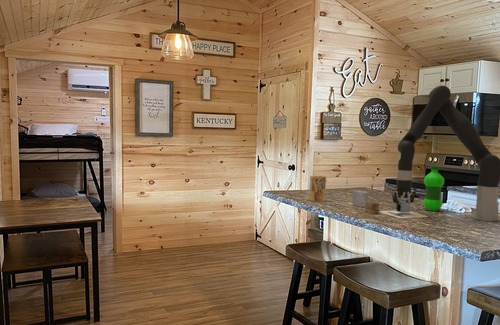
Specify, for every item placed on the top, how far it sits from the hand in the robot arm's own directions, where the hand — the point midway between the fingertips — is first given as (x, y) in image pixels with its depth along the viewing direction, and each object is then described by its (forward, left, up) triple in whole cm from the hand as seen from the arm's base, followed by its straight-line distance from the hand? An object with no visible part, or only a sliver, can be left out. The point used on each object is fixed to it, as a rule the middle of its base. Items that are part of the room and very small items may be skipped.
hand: (402, 210), depth 220 cm
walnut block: (+15, -6, -2) cm, 16 cm away
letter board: (0, 0, -2) cm, 2 cm away
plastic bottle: (-26, -7, -2) cm, 27 cm away
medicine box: (+8, -27, -2) cm, 28 cm away
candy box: (+24, -50, -2) cm, 56 cm away
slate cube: (0, 0, -1) cm, 1 cm away
